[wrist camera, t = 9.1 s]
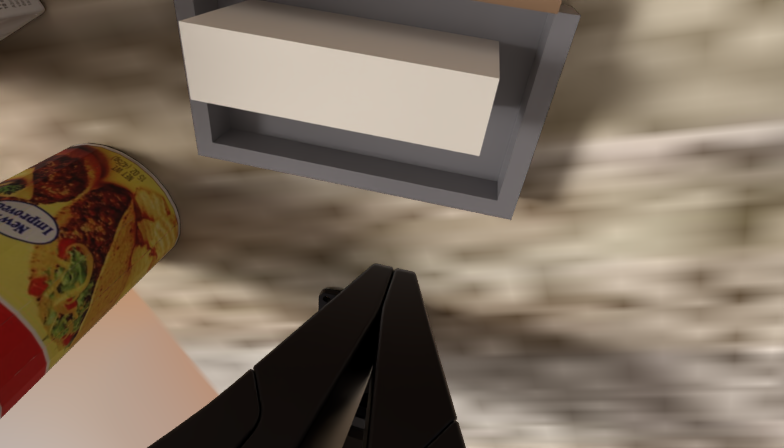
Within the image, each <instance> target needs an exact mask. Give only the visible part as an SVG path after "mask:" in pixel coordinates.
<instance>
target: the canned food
mask: <svg viewBox="0 0 784 448" xmlns="http://www.w3.org/2000/svg"><path fill="white" fill-rule="evenodd" d="M179 235H180V219H179V216H178V212H177V209H176V206H175V204H174V202H173V200H172V199H171V197H170V195H169V193H168V191H167V190H166V189H165V188H164V186H163V185H162V184H161V183H160V182H159V180H158V179H157V178H156V177H155V176H154V175H153V174H152V173H151V172H150V171H148V170H147V169H146V168H145V167H144V166H143V165H141V164H140V163H139V162H137V161H136V160H134V159H132V158H131V157H129V156H127V155H126V154H124V153H123V152H120V151H117V150H115V149H112V148H110V147H107V146H104V145H97V144H90V143H85V144H79V145H73V146H71V147H69V148H67V149H65V150H63V151H61V152H59V153H57V154H55V155H53V156H52V157H50V158H48V159H46V160H44V161H42V162H40V163H38V164H36V165H34V166H32V167H30V168H28V169H26V170H25V171H23V172H21V173H19V174H17V175H15V176H13V177H11V178H9V179H7V180H5V181H3V182H1V183H0V418H2V417H3V416H4V415H5V414H6V413H7V412H8V411H9V410H10V408H12V407H13V406H14V405H15V404H16V403H17V402H18V401H19V400H20V399H21V398H22V397H23V396H24V395H25V394H26V393H27V392H28V391H29V390H30V389H31V388H32V387H33V386H34V385H35V384H36V383H37V382H38V381H39V380H40V379H41V378H42V377H43V376H44V375H45V374H46V373H47V372H48V371H49V370H50V369H51V368H52V367H53V366H54V365H55V364H56V363H57V362H58V361H59V360H60V359H61V358H62V357H63V356H64V355H65V354H66V353H67V352H68V351H69V350H70V349H71V348H72V347H73V346H74V345H75V344H76V343H77V342H78V341H79V340H80V339H81V338H82V337H83V336H84V335H85V334H86V333H87V332H88V331H89V330H90V329H91V328H92V327H93V326H94V325H95V324H96V323H97V322H98V321H99V320H100V319H101V318H102V317H103V316H104V315H105V314H106V313H107V312H108V311H109V310H110V309H111V308H112V307H113V306H114V305H115V304H116V303H117V302H118V301H119V300H120V299H121V298H122V297H123V296H124V295H125V294H126V293H127V292H128V291H129V290H130V289H131V288H132V287H133V286H134V285H135V284H136V283H138V282H139V281H140V280H141V279H142V278H143V277H144V276H145V275H146V274H147V273H148V272H149V271H150V270H151V269H152V268H153V267H154V266H155V265H156V264H157V263H158V262H159V261H160V260H161V259H162V258H163V257H164V256H165V255H166V254H167V253H168V252H169V251H170V250H171V249H172V248H173V247H174V246H175V245H176V242H177V240H178V238H179Z"/></svg>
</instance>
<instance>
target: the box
mask: <svg viewBox="0 0 784 448" xmlns="http://www.w3.org/2000/svg"><path fill="white" fill-rule="evenodd" d="M244 1H247V0H174V5H175V11H176V17H177V24H178V30H179V36H180V42H181V49H182V55H183V61H184V67H185V74H186V80H187V86H188V92H189V99H190V105H191V111H192V117H193V124H194V130H195V136H196V142H197V149H198V155H201V156H206V157H211V158H216V159H220V160H225V161H230V162H235V163H240V164H245V165H249V166H254V167H259V168H264V169H269V170H273V171H278V172H283V173H288V174H293V175H298V176H302V177H307V178H312V179H317V180H322V181H326V182H331V183H336V184H341V185H346V186H351V187H355V188H360V189H365V190H370V191H375V192H379V193H384V194H389V195H394V196H399V197H404V198H408V199H413V200H418V201H423V202H428V203H432V204H437V205H442V206H447V207H452V208H457V209H461V210H466V211H471V212H476V213H481V214H485V215H490V216H495V217H500V218H505V219H510V220H511V219H512V216H513V213H514V210H515V207H516V204H517V201H518V198H519V195H520V192H521V189H522V186H523V183H524V180H525V178H526V175H527V172H528V169H529V166H530V163H531V160H532V157H533V154H534V151H535V148H536V145H537V142H538V139H539V137H540V134H541V131H542V128H543V125H544V122H545V119H546V116H547V113H548V110H549V107H550V104H551V101H552V98H553V96H554V93H555V90H556V87H557V84H558V81H559V78H560V75H561V72H562V69H563V66H564V63H565V60H566V57H567V55H568V52H569V49H570V46H571V43H572V40H573V37H574V34H575V31H576V28H577V25H578V22H579V19H580V16H581V15H580V14H579V13H578V12H577V11H576V10H575V9H574V8H573V7H572V6H567V5H560V8H559V12H558V14H553V13H547V12H541V11H535V10H528V9H522V8H516V7H510V6H504V5H498V4H491V3H485V2H479V1H473V0H261V1H267V2H272V3H278V4H284V5H290V6H296V7H302V8H308V9H313V10H319V11H325V12H331V13H337V14H343V15H349V16H354V17H360V18H366V19H372V20H378V21H384V22H389V23H395V24H401V25H407V26H413V27H419V28H425V29H430V30H436V31H442V32H448V33H454V34H460V35H466V36H471V37H477V38H483V39H489V40H495V41H499V71H500V79H499V83H498V87H497V91H496V94H495V98H494V102H493V106H492V110H491V113H490V117H489V121H488V125H487V129H486V132H485V136H484V140H483V144H482V148H481V152H480V155H479V156H476V155H471V154H466V153H461V152H456V151H451V150H446V149H441V148H436V147H430V146H425V145H420V144H415V143H410V142H405V141H400V140H395V139H390V138H385V137H380V136H374V135H369V134H364V133H359V132H354V131H349V130H344V129H339V128H334V127H329V126H323V125H318V124H313V123H308V122H303V121H298V120H293V119H288V118H283V117H278V116H272V115H267V114H262V113H257V112H252V111H247V110H242V109H237V108H232V107H227V106H222V105H216V104H211V103H206V102H201V101H196V100H191V98H190V91H189V85H188V79H187V72H186V66H185V60H184V53H183V47H182V41H181V34H180V28H179V22H178V21H181V20H184V19H187V18H191V17H194V16H197V15H201V14H204V13H207V12H211V11H214V10H217V9H220V8H224V7H227V6H230V5H234V4H237V3H240V2H244Z"/></svg>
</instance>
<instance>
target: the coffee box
mask: <svg viewBox="0 0 784 448" xmlns="http://www.w3.org/2000/svg"><path fill="white" fill-rule="evenodd" d="M44 11H45V10H44V7H43V5H42V4H41V2H40V1H39V0H0V41H1V40H2V39H4V38H5V37H7V36H9V35H10V34H12V33H13V32H15V31H16V30H18V29H19V28H21V27H22V26H24V25H25V24H27V23H28V22H30V21H31V20H33V19H35V18H36V17H38V16H39V15H41V14H42V13H44Z"/></svg>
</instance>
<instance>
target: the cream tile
mask: <svg viewBox="0 0 784 448" xmlns="http://www.w3.org/2000/svg"><path fill="white" fill-rule="evenodd" d="M178 22H179V28H180V34H181V41H182V47H183V53H184V60H185V66H186V72H187V79H188V85H189V91H190V98H191V100H196V101H201V102H206V103H211V104H216V105H222V106H227V107H232V108H237V109H242V110H247V111H252V112H257V113H262V114H267V115H272V116H278V117H283V118H288V119H293V120H298V121H303V122H308V123H313V124H318V125H323V126H329V127H334V128H339V129H344V130H349V131H354V132H359V133H364V134H369V135H374V136H380V137H385V138H390V139H395V140H400V141H405V142H410V143H415V144H420V145H425V146H430V147H436V148H441V149H446V150H451V151H456V152H461V153H466V154H471V155H476V156H479V155H480V152H481V148H482V144H483V140H484V136H485V132H486V129H487V125H488V121H489V117H490V113H491V110H492V106H493V102H494V98H495V94H496V91H497V87H498V83H499V79H500V71H499V41H495V40H489V39H483V38H477V37H471V36H466V35H460V34H454V33H448V32H442V31H436V30H430V29H425V28H419V27H413V26H407V25H401V24H395V23H389V22H384V21H378V20H372V19H366V18H360V17H354V16H349V15H343V14H337V13H331V12H325V11H319V10H313V9H308V8H302V7H296V6H290V5H284V4H278V3H272V2H267V1H261V0H247V1H244V2H240V3H237V4H234V5H230V6H227V7H224V8H220V9H217V10H214V11H211V12H207V13H204V14H201V15H197V16H194V17H191V18H187V19H184V20H181V21H178Z"/></svg>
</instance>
